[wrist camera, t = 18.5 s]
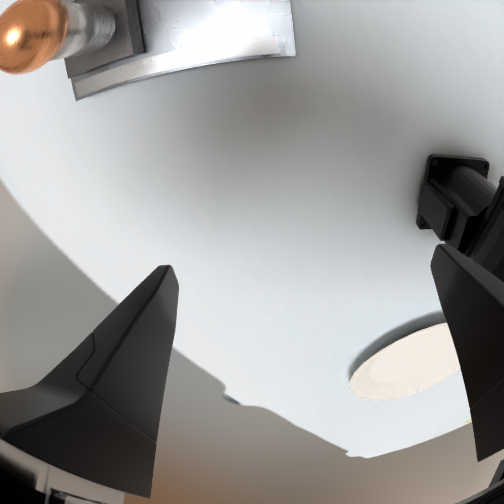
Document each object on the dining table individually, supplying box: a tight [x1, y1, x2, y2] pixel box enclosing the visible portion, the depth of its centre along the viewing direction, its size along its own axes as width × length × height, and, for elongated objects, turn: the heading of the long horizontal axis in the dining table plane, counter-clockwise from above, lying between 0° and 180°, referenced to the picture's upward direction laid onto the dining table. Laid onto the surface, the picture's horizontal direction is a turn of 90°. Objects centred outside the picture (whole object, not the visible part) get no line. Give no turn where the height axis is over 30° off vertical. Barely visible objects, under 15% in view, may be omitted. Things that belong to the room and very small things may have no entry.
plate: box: [349, 322, 460, 400], centre depth 35 cm, size 21×21×2 cm
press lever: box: [0, 0, 144, 79], centre depth 8 cm, size 4×5×9 cm
